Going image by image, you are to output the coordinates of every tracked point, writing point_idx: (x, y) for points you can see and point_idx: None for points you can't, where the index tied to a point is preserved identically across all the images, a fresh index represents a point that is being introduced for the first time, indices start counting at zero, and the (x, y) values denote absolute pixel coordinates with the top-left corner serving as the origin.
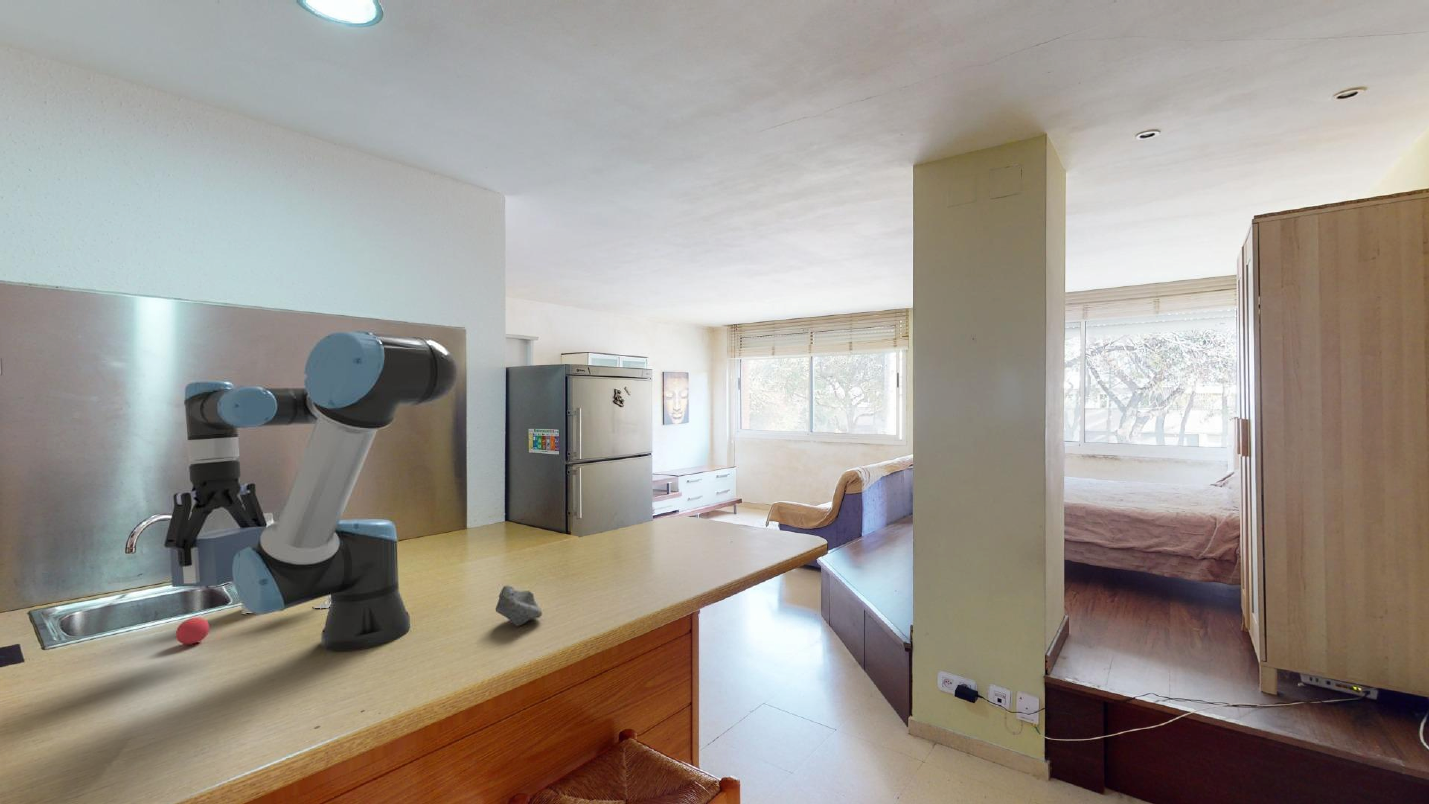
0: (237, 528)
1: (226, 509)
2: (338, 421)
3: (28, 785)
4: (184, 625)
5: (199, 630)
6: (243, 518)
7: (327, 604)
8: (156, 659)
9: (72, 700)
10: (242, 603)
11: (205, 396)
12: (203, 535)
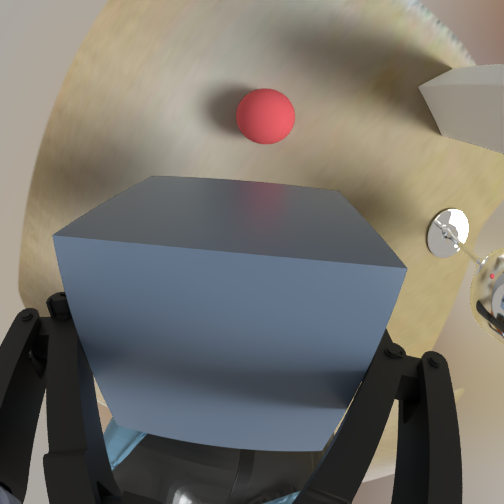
0: (347, 373)
1: (306, 487)
2: None
3: (22, 294)
4: (243, 119)
5: (256, 142)
6: (325, 452)
7: (441, 237)
8: (192, 119)
9: (74, 157)
10: (429, 87)
11: None
12: (157, 349)
